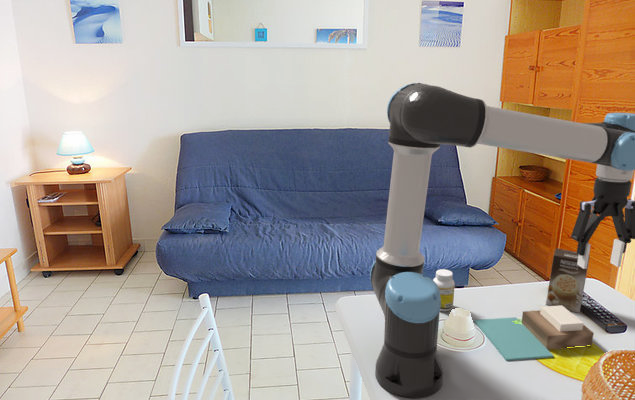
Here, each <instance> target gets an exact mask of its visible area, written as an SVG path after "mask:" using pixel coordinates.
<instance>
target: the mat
mask: <svg viewBox="0 0 635 400" xmlns="http://www.w3.org/2000/svg"><path fill="white" fill-rule="evenodd" d="M515 320H519V318H517V317H501V318H500V317H499V318H487V319H486V318H483V319H474V323H475V324H476V325H477V327H478V328H479V329H480V330H481V332H483V334H484V335H485V337H486V338H487V339H488V340H489V341H490V343H491V344H492V345H493V346H494V348H495V349H496V350H497V351H498V353H499V354H500V355H501V356H502V358H503V359H504V360H505V362H507V361H508V362H509V361H517V360H518V361H521V360H533V359H534V360H536V359H545V358H546V359H547V358H548V359H549V357H550V358H554V355H553V353H552V352H550V351H551V350H548V349H547V348H546V347H545V346H544V345H543V344H542V343H541V342H540V341H539V340H538V339H537V338H536V337H535V336H534V335H533V334H532V333H531V332H530V331H529V330H528V329H527V328H526V327H525V326H524V325H523V324H522V325H521V324H515V323H514V322H512V321H515Z"/></svg>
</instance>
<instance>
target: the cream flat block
mask: <svg viewBox="0 0 635 400" xmlns="http://www.w3.org/2000/svg"><path fill="white" fill-rule="evenodd" d="M540 314H541V315H542V316H543V317H544V318H546V319H547V320H548V321H549V322H550V323H551V324H552V325H553V326H554V327H555V328H556V329H558V330H559V331H560V332H562V331H576V330H582V329H583V324H584V322H583V321H582V320H581V319H579V317H577V316H575V315H574V313H572V311H569V310H567V309H566V308H565V307H563V306H562V305H561V306H549V305H545V306H540Z"/></svg>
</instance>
